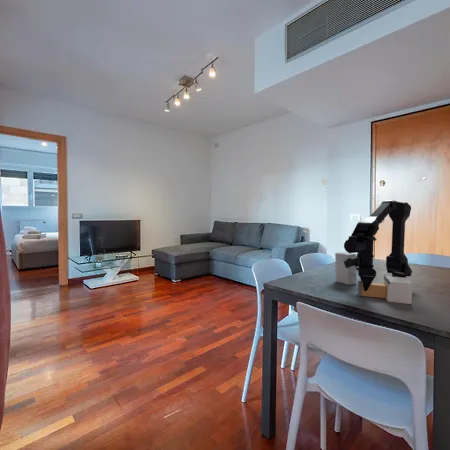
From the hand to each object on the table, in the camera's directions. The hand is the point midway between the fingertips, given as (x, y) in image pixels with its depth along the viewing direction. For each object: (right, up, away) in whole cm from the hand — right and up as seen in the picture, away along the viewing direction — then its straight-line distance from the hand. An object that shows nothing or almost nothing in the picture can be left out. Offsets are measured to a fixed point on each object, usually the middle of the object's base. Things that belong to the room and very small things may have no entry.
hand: (364, 288), depth 115 cm
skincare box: (+1, -2, +20) cm, 20 cm away
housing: (+11, -3, -4) cm, 12 cm away
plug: (+5, -3, -2) cm, 7 cm away
